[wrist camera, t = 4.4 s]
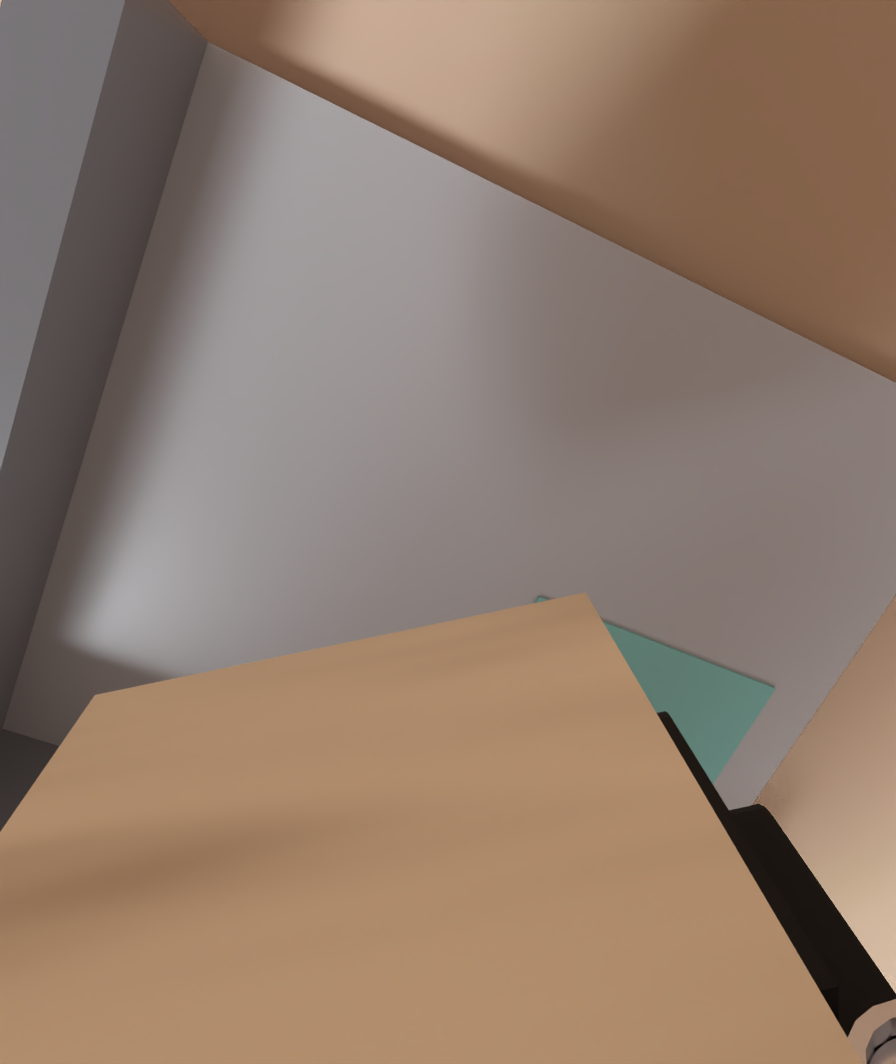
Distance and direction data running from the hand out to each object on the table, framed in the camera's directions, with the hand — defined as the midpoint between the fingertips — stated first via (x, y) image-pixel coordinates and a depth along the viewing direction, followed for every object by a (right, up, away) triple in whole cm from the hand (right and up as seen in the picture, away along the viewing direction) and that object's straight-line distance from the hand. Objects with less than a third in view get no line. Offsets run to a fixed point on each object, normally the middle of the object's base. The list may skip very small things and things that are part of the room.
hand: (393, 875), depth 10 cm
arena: (+1, +3, +10) cm, 10 cm away
